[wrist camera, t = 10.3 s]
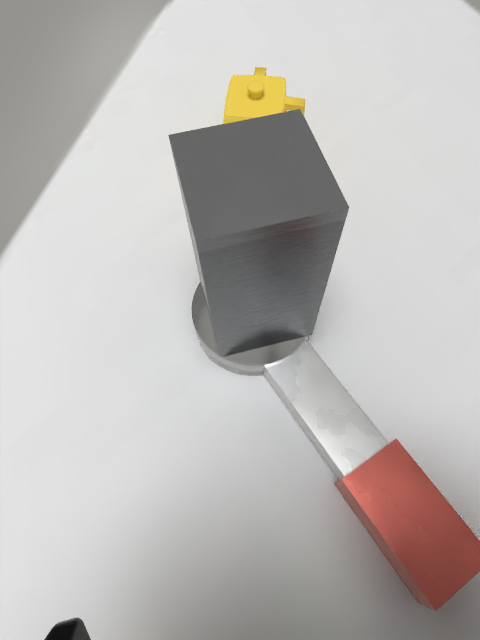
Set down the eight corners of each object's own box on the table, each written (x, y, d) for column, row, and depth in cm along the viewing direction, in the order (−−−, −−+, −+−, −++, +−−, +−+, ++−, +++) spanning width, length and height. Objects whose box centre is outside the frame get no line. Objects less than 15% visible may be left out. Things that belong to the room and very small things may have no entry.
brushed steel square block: (311, 334, 22) (348, 207, 14) (219, 357, 22) (195, 241, 13) (283, 259, 25) (300, 109, 16) (200, 279, 24) (168, 135, 15)
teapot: (297, 191, 30) (305, 130, 25) (219, 186, 30) (213, 125, 26) (302, 119, 34) (310, 54, 29) (232, 115, 34) (229, 50, 29)
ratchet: (497, 532, 20) (555, 532, 16) (388, 629, 18) (423, 655, 14) (267, 257, 27) (269, 214, 24) (175, 308, 26) (162, 270, 22)
